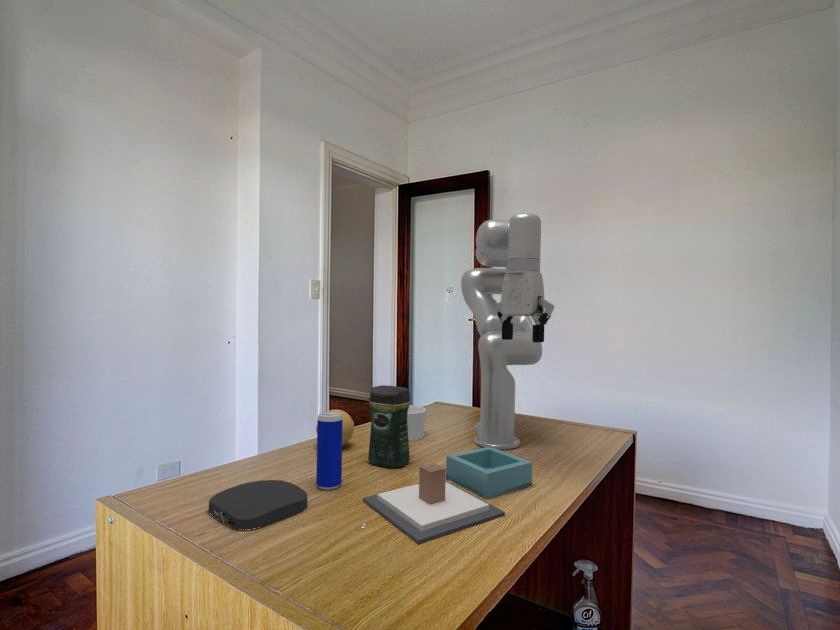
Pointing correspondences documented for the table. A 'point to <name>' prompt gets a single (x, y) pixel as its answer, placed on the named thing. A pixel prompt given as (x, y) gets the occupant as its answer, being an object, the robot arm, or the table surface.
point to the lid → (432, 500)
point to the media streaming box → (258, 503)
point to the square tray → (489, 471)
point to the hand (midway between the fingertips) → (522, 340)
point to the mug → (416, 422)
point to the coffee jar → (389, 426)
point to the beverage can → (329, 450)
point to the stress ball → (345, 426)
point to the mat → (434, 532)
